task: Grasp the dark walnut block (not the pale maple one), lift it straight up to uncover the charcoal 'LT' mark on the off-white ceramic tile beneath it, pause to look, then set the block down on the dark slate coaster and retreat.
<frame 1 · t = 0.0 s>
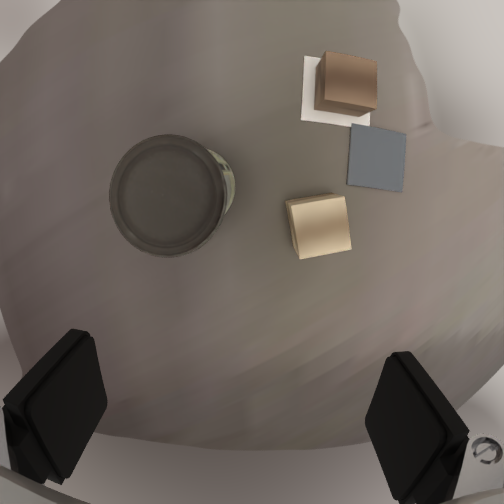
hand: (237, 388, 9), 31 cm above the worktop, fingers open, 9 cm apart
maple block: (312, 219, 39), on the worktop
walnut block: (337, 91, 34), resting on code tile
slate coaster: (377, 158, 37), on the worktop
coffee can: (195, 188, 38), on the worktop
code tile: (337, 92, 35), on the worktop
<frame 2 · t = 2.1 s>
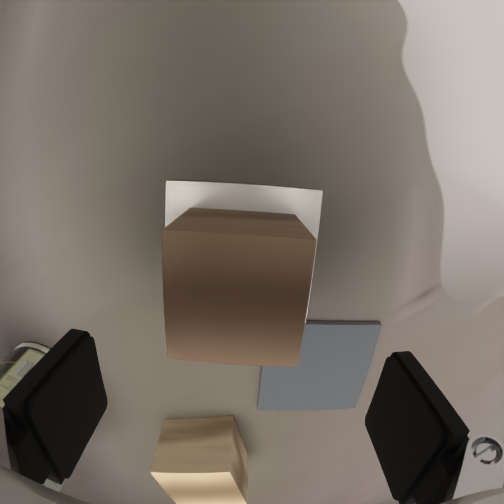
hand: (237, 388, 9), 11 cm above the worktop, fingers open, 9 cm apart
maple block: (207, 438, 24), on the worktop
walnut block: (239, 261, 18), resting on code tile
slate coaster: (316, 368, 21), on the worktop
coffee can: (53, 386, 22), on the worktop
code tile: (239, 258, 19), on the worktop
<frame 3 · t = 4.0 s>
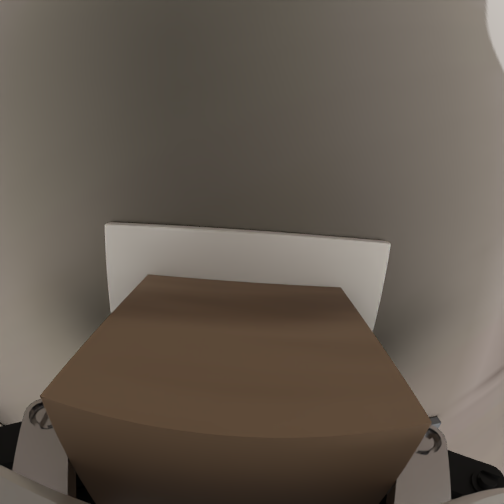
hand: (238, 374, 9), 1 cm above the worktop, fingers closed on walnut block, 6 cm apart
walnut block: (239, 363, 10), resting on code tile, touching gripper
code tile: (239, 356, 11), on the worktop
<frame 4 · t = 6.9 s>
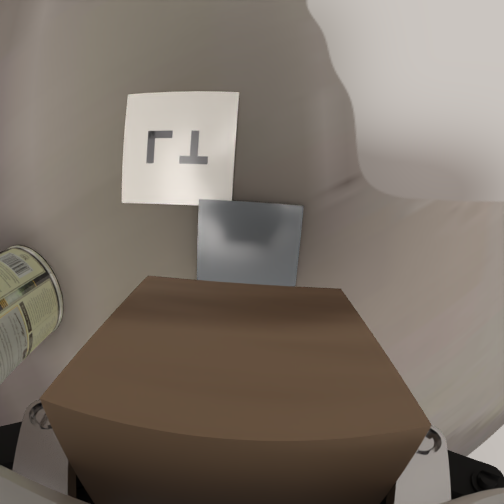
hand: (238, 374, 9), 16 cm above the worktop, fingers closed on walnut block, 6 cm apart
walnut block: (238, 365, 10), point 15 cm above the worktop, touching gripper
slate coaster: (248, 251, 25), on the worktop
coffee can: (29, 291, 26), on the worktop
code tile: (177, 147, 23), on the worktop
when the fingers open (2 cm above the worktop, at t = 9.8 s): walnut block drops 1 cm, resting on slate coaster.
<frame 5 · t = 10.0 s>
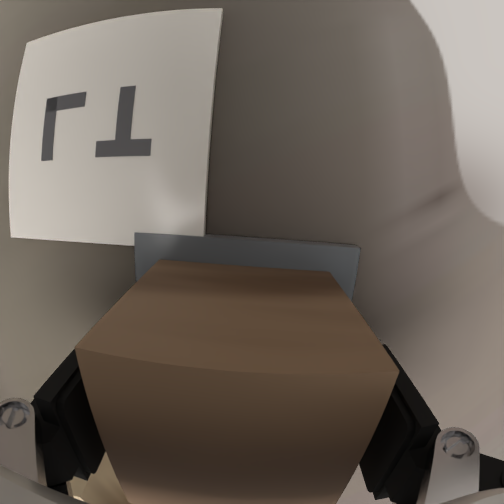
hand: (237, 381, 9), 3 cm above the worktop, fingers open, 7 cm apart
maple block: (101, 443, 14), on the worktop
walnut block: (239, 341, 11), resting on slate coaster
slate coaster: (241, 336, 12), on the worktop
code tile: (96, 124, 10), on the worktop
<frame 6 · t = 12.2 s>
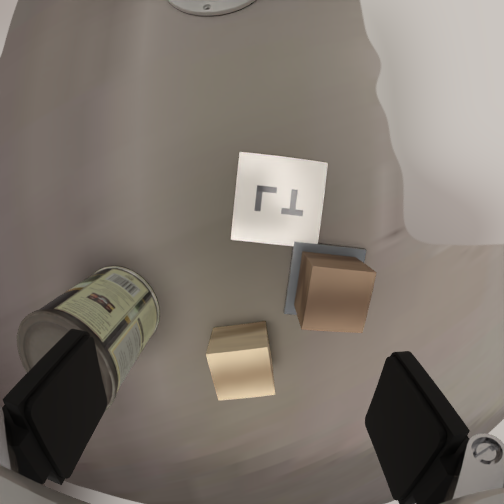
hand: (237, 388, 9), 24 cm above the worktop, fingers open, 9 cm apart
maple block: (243, 346, 35), on the worktop
walnut block: (325, 281, 33), resting on slate coaster
slate coaster: (324, 280, 33), on the worktop
coffee can: (121, 306, 34), on the worktop
code tile: (279, 200, 31), on the worktop
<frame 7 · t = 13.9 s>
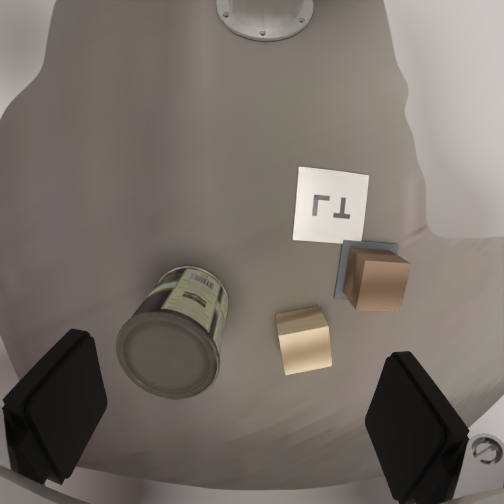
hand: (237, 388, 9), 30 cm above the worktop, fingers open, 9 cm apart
maple block: (299, 328, 42), on the worktop
walnut block: (366, 271, 39), resting on slate coaster
slate coaster: (366, 270, 40), on the worktop
coffee can: (191, 301, 41), on the worktop
code tile: (331, 206, 37), on the worktop
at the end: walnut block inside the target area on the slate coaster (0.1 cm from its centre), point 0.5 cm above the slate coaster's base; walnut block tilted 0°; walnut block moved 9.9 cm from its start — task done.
